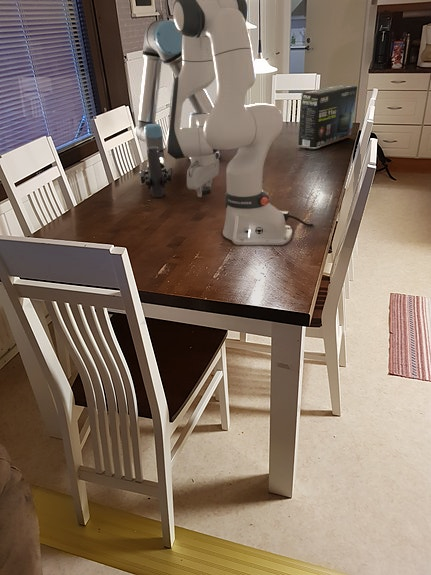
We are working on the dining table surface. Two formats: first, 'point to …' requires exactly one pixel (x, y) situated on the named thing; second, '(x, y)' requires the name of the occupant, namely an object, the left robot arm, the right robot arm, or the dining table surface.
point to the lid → (206, 190)
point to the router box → (326, 115)
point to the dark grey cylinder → (155, 171)
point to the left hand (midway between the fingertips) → (156, 185)
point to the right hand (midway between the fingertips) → (204, 193)
